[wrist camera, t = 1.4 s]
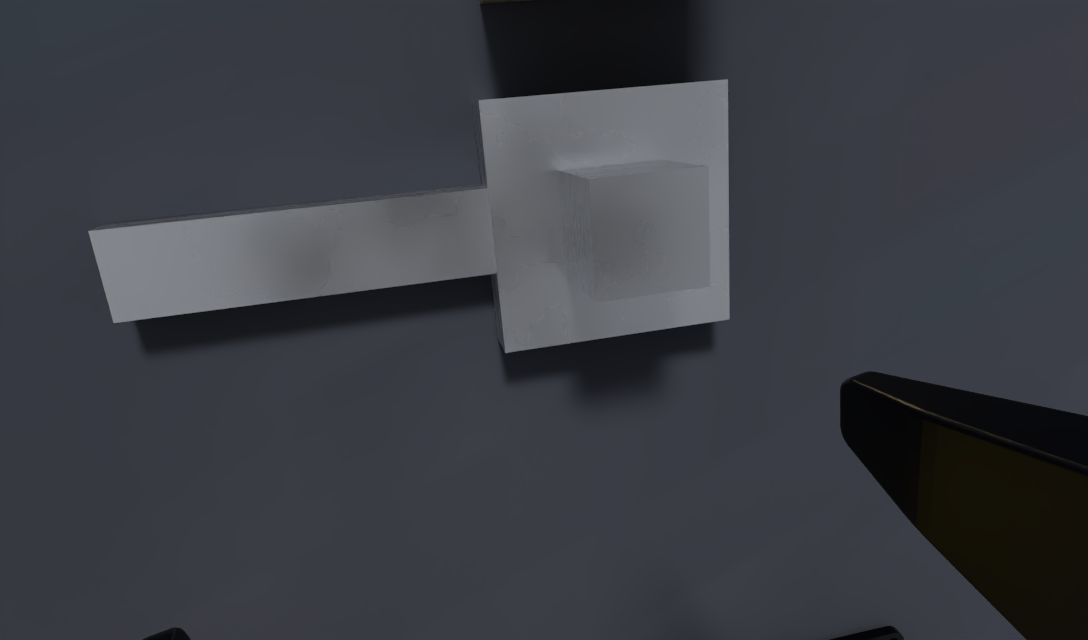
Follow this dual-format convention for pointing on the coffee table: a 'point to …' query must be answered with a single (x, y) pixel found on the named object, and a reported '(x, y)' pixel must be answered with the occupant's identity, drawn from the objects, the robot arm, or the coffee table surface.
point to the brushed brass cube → (500, 1)
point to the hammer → (486, 226)
